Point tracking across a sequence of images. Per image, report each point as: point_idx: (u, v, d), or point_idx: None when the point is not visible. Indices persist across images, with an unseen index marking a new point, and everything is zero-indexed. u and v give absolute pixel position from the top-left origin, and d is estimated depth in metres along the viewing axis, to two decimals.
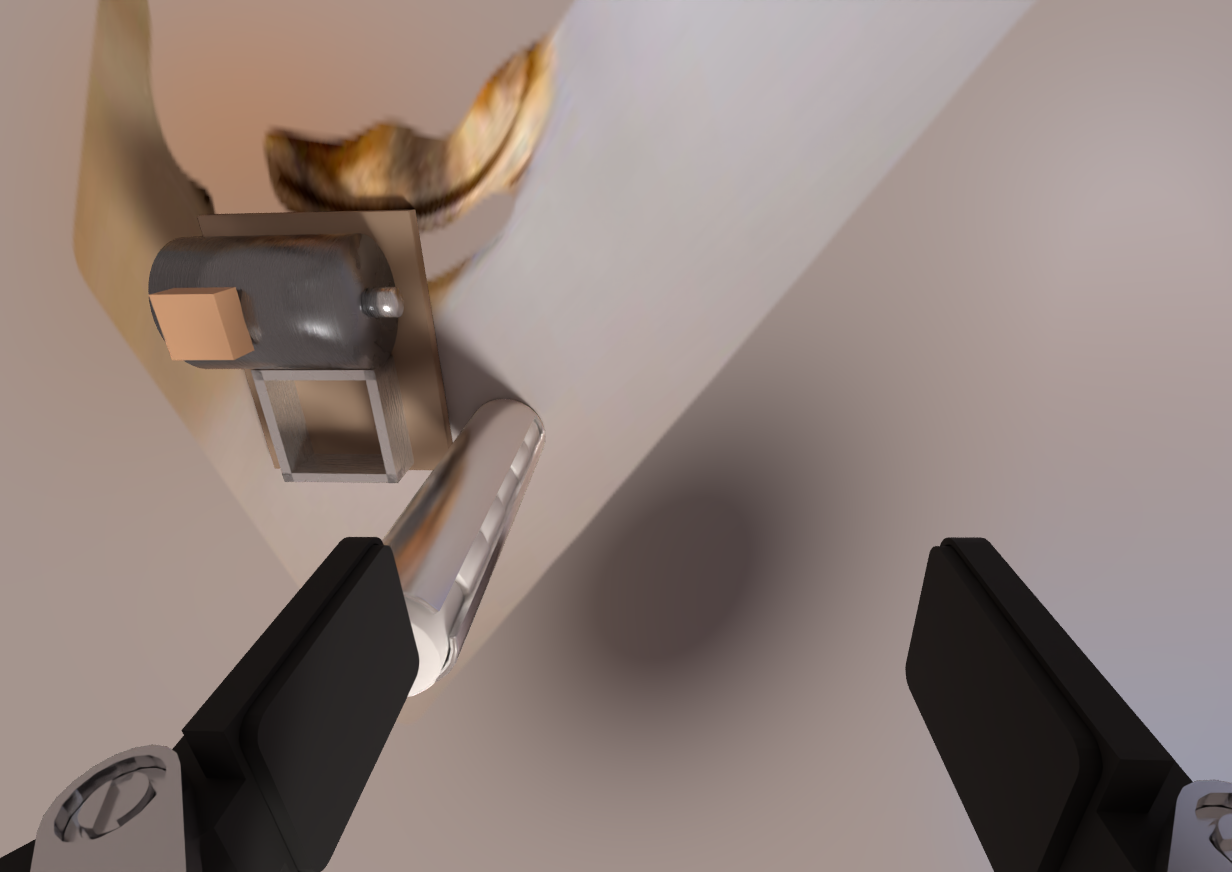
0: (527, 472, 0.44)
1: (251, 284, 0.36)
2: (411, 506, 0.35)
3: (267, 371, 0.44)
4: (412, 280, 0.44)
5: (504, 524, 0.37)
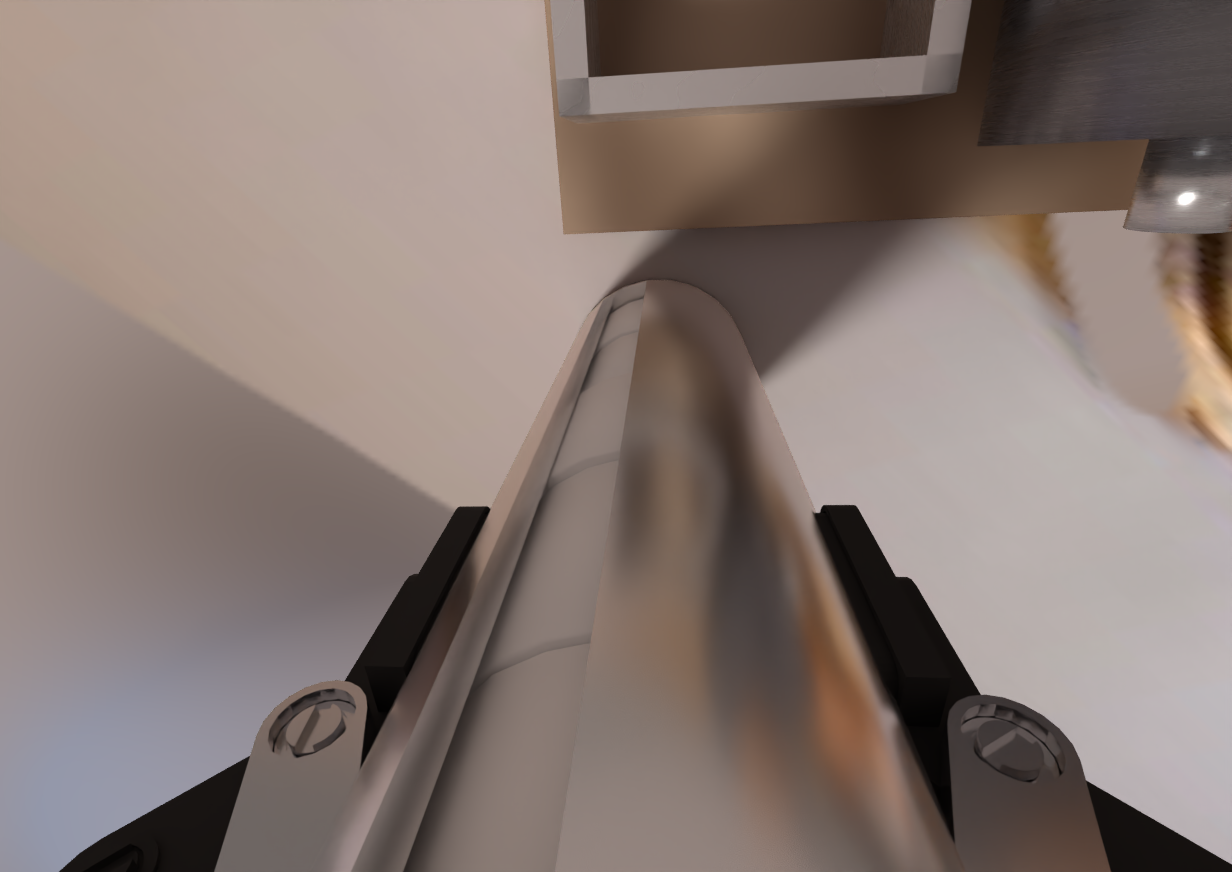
0: None
1: None
2: (876, 663, 0.07)
3: None
4: (1089, 190, 0.18)
5: None
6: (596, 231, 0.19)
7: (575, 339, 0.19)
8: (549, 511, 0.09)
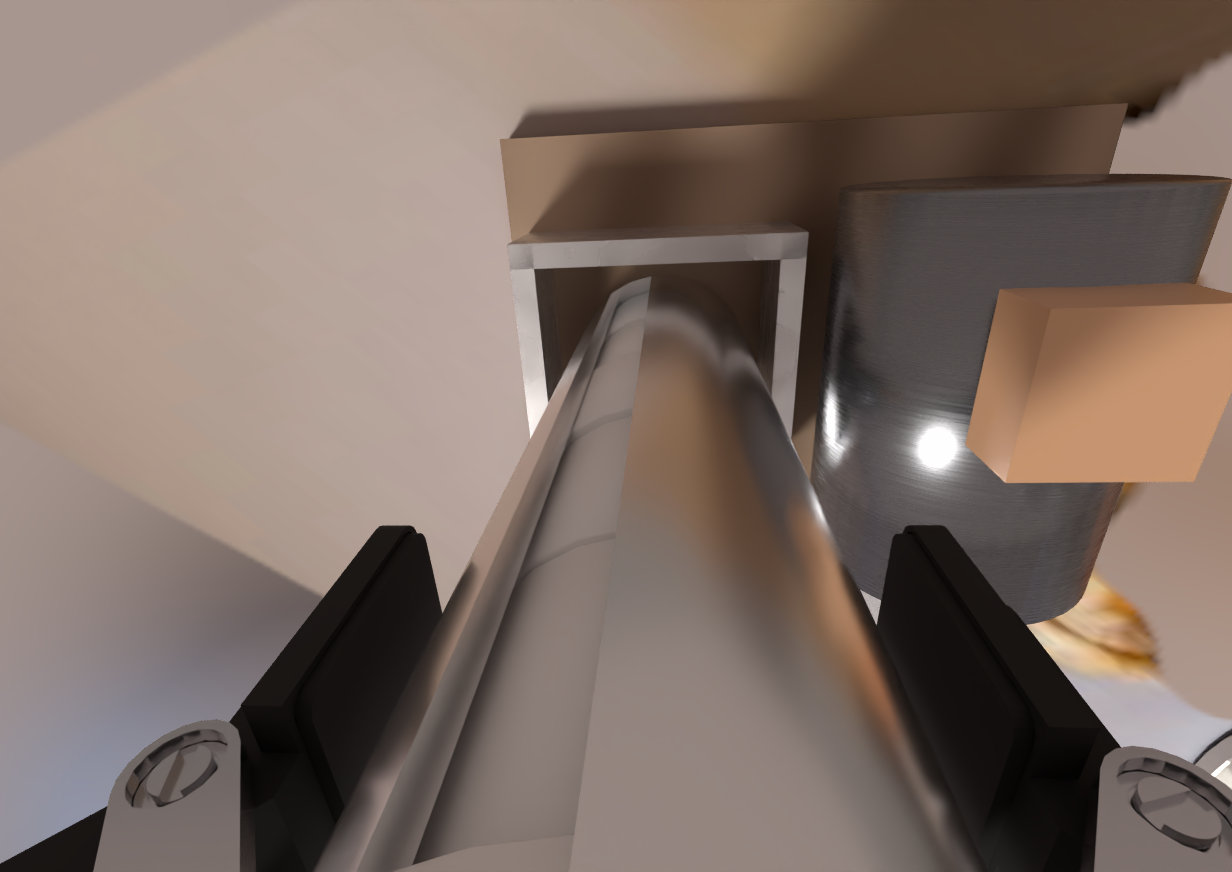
0: None
1: None
2: (846, 565, 0.08)
3: (802, 274, 0.19)
4: None
5: None
6: None
7: (586, 328, 0.21)
8: (572, 458, 0.11)
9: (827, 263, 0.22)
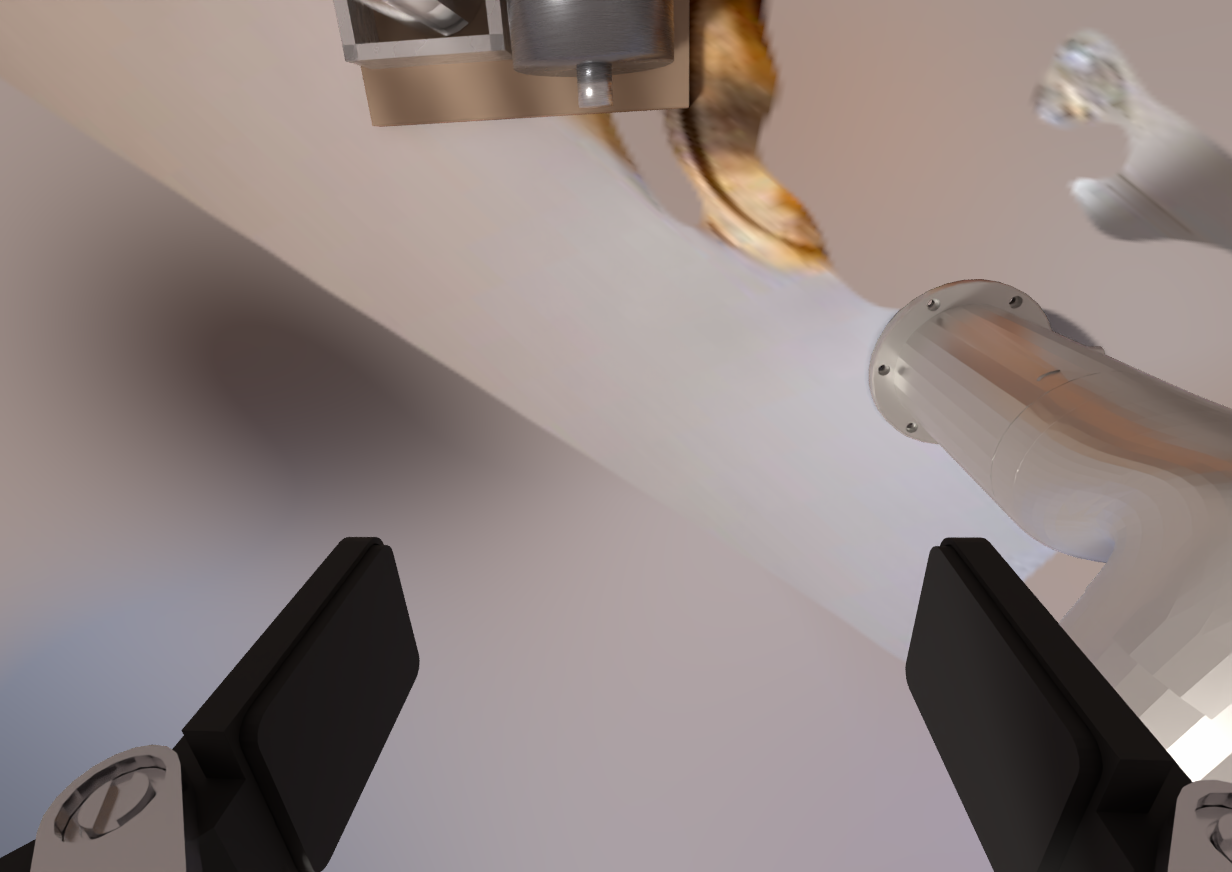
0: (399, 11, 0.30)
1: None
2: None
3: None
4: (612, 100, 0.38)
5: None
6: (388, 124, 0.39)
7: None
8: None
9: None
